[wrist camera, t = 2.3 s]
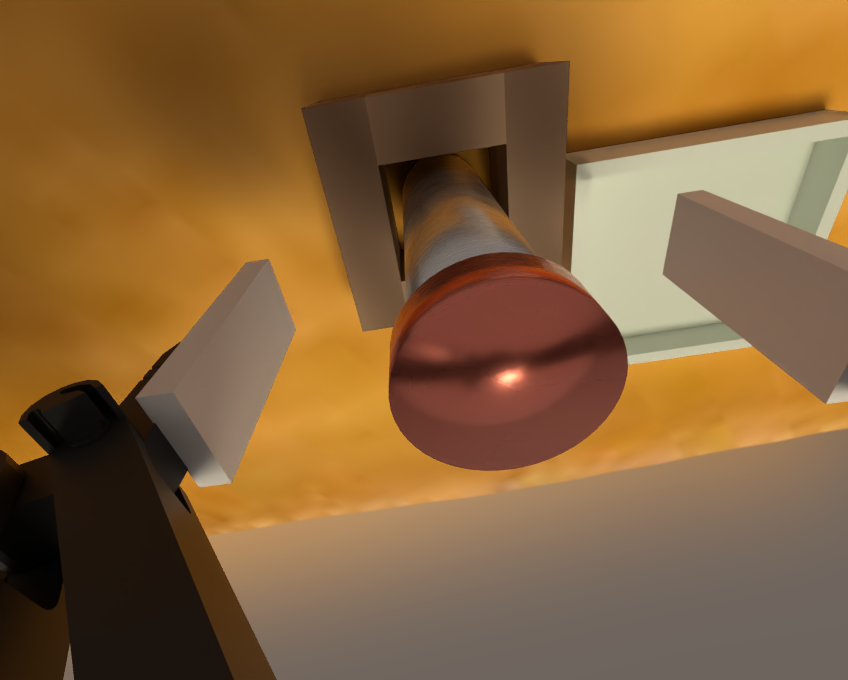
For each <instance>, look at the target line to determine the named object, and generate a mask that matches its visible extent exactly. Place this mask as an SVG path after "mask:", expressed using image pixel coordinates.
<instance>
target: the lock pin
mask: <svg viewBox="0 0 848 680" xmlns="http://www.w3.org/2000/svg"><path fill="white" fill-rule="evenodd" d="M403 224H404V257H405V290H406V303H405V304H404V306H403V307H402V309H401V311H400V313H399V315H398V317H397V319H396V321H395V324H394V327H393V330H392V335H391V341H390V364H389V402H390V408H391V412H392V415H393V417H394V420H395V422H396V424H397V426H398V427H399V429H400V431H401V432H402V433H403V435H404V436H405V437H406V438H407V440H409V441H410V442H411V443H412V444H413V445H414V446H415V447H416V448H418V449H419V450H420V451H422V452H423V453H425V454H426V455H428V456H430V457H432V458H434V459H436V460H438V461H441V462H443V463H446V464H449V465H452V466H456V467H460V468H465V469H471V470H483V471H494V470H508V469H515V468H520V467H525V466H529V465H533V464H536V463H540V462H542V461H545V460H548V459H551V458H553V457H555V456H557V455H559V454H561V453H563V452H565V451H567V450H569V449H570V448H572V447H574V446H576V445H577V444H578V443H580V442H581V441H583V440H584V439H586V438H587V437H588V436H589V435H590V434H591V433H593V432H594V431H595V430H596V429H597V428H598V427H599V426H600V425H601V424H602V423H603V422H604V421H605V420H606V418H607V417H608V416H609V414H610V413H611V412H612V410H613V409H614V407H615V405H616V404H617V402H618V400H619V398H620V396H621V393H622V391H623V389H624V385H625V381H626V377H627V369H628V357H627V349H626V346H625V342H624V339H623V337H622V335H621V333H620V331H619V329H618V327H617V326H616V324H615V323H614V322H613V320H612V319H611V318H610V317H609V315H608V314H607V313H606V312H605V311H604V309H603V308H602V307H601V306H600V305H599V304H598V302H597V301H596V300H595V299H594V298H593V297H592V295H591V294H590V293H589V292H588V291H587V289H586V288H585V287H584V286H583V285H582V284H581V282H580V281H579V280H578V279H577V278H576V277H575V276H573V275H572V274H571V273H570V272H569V271H567V270H566V269H564V268H563V267H561V266H560V265H558V264H556V263H554V262H552V261H550V260H547V259H545V258H541V257H538V256H536V254H535V253H534V252H533V250H532V249H531V247H530V246H529V245H528V243H527V242H526V241H525V239H524V238H523V237H522V235H521V234H520V232H519V231H518V230H517V228H516V227H515V226H514V224H513V223H512V222H511V220H510V219H509V218H508V216H507V215H506V213H505V212H504V211H503V209H502V208H501V207H500V205H499V204H498V203H497V201H496V200H495V198H494V197H493V196H492V194H491V193H490V192H489V190H488V189H487V188H486V186H485V185H484V184H483V182H482V181H481V179H480V178H479V177H478V175H477V174H476V173H475V171H474V170H473V169H472V167H471V166H470V165H469V164H468V163H467V162H466V161H465V160H463V159H462V158H460V157H458V156H455V155H452V154H444V155H438V156H432V157H426V158H423V159H422V160H420V161H419V162H418V163H416V164H415V165H414V166H413V168H412V169H411V170H410V172H409V173H408V175H407V177H406V179H405V182H404V186H403Z"/></svg>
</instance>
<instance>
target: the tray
mask: <svg viewBox="0 0 848 680" xmlns="http://www.w3.org/2000/svg"><path fill="white" fill-rule="evenodd" d="M698 190H705V191H707V192H710V193H712V194H715V195H717V196H720V197H722V198H724V199H727V200H729V201H732V202H734V203H737V204H739V205H742V206H744V207H747V208H749V209H752V210H754V211H757V212H759V213H762V214H764V215H767V216H769V217H772V218H774V219H777V220H779V221H782V222H784V223H787V224H789V225H792V226H794V227H797V228H799V229H802V230H804V231H807V232H809V233H811V234H814V235H816V236H819V237H821V238H824V239H826V240H827V238H828V236H829V233H830V231H831V228H832V226H833V224H834V221H835V219H836V216H837V214H838V211H839V209H840V207H841V204H842V202H843V199H844V197H845V195H846V192H847V190H848V112H846V111H835V110H821V111H815V112H809V113H804V114H798V115H792V116H786V117H780V118H774V119H768V120H762V121H756V122H750V123H744V124H738V125H732V126H726V127H721V128H715V129H709V130H703V131H697V132H691V133H685V134H679V135H673V136H667V137H661V138H655V139H649V140H643V141H638V142H632V143H626V144H620V145H614V146H608V147H602V148H596V149H590V150H584V151H578V152H572V153H566V167H565V191H564V215H563V240H562V264H561V267H563V268H564V269H566V270H567V271H569V272H570V273H571V274H572V275H573V276H575V277H576V278H577V279H578V280H579V281H580V282H581V284H582V285H583V286H584V287H585V288H586V289H587V291H588V292H589V293H590V294H591V295H592V297H593V298H594V299H595V300H596V301H597V302H598V304H599V305H600V306H601V307H602V308H603V309H604V311H605V312H606V313H607V314H608V315H609V317H610V318H611V319H612V320H613V322H614V323H615V324H616V326H617V327H618V329H619V331H620V333H621V335H622V337H623V339H624V342H625V346H626V349H627V357H628V365H630V364H637V363H644V362H651V361H658V360H664V359H671V358H678V357H685V356H692V355H698V354H705V353H712V352H719V351H726V350H732V349H739V348H746V347H753V346H752V345H751V344H750V343H748V342H747V341H746V340H744V339H743V338H742V337H741V336H739V335H738V334H737V333H736V332H734V331H733V330H732V329H731V328H729V327H728V326H727V325H726V324H724V323H723V322H722V321H721V320H719V319H718V318H717V317H715V316H714V315H713V314H712V313H710V312H709V311H708V310H707V309H705V308H704V307H703V306H702V305H700V304H699V303H698V302H697V301H695V300H694V299H693V298H692V297H690V296H689V295H688V294H686V293H685V292H684V291H683V290H681V289H680V288H679V287H678V286H676V285H675V284H674V283H673V282H671V281H670V280H669V279H668V278H666V277H665V276H664V275H663V268H664V263H665V258H666V252H667V247H668V242H669V237H670V231H671V226H672V221H673V215H674V210H675V205H676V200H677V194H679V193H685V192H692V191H698Z"/></svg>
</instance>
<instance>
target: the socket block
mask: <svg viewBox="0 0 848 680" xmlns="http://www.w3.org/2000/svg"><path fill="white" fill-rule="evenodd" d="M569 69H570V61H558V62H538V63H533V64H527V65H521V66H516V67H510V68H505V69H499V70H493V71H488V72H482V73H476V74H471V75H465V76H460V77H454V78H448V79H443V80H437V81H432V82H426V83H420V84H415V85H409V86H403V87H398V88H392V89H387V90H381V91H375V92H370V93H364V94H358V95H353V96H347V97H342V98H336V99H330V100H325V101H319V102H316V103H314V104H312V105H309V106H307V107H304V108H302V113H303V116H304V120H305V124H306V127H307V131H308V135H309V138H310V142H311V145H312V149H313V153H314V156H315V160H316V164H317V167H318V171H319V174H320V178H321V182H322V185H323V189H324V192H325V196H326V200H327V203H328V207H329V211H330V214H331V218H332V221H333V225H334V229H335V232H336V236H337V240H338V243H339V247H340V250H341V254H342V258H343V261H344V265H345V268H346V272H347V276H348V279H349V283H350V287H351V290H352V294H353V297H354V301H355V305H356V308H357V312H358V316H359V319H360V323H361V326H362V330H363V332H364V331H370V330H376V329H383V328H389V327H394V324H395V321H396V319H397V317H398V315H399V313H400V311H401V309H402V307H403V306H404V304H405V303H406V290H405V257H404V250H401V249H400V244H399V239H398V233H397V228H396V223H395V217H394V212H393V207H392V202H391V196H390V191H389V186H388V181H387V175H386V170H385V164H391V163H397V162H403V161H409V160H414V159H420V158H426V157H432V156H438V155H444V154H450V153H456V152H461V151H467V150H473V149H479V148H485V147H489V154H490V172H491V190H492V196H493V197H494V198H495V200H496V201H497V203H498V204H499V205H500V207H501V208H502V209H503V211H504V212H505V213H506V215H507V216H508V218H509V219H510V220H511V222H512V223H513V224H514V226H515V227H516V228H517V230H518V231H519V232H520V234H521V235H522V237H523V238H524V239H525V241H526V242H527V243H528V245H529V246H530V247H531V249H532V250H533V252H534V253H535V254H536V256H538V257H541V258H545V259H547V260H550V261H552V262H554V263H556V264H558V265H560V266H561V264H562V240H563V215H564V191H565V167H566V142H567V118H568V93H569Z"/></svg>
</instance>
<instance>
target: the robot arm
mask: <svg viewBox="0 0 848 680" xmlns="http://www.w3.org/2000/svg"><path fill="white" fill-rule="evenodd" d="M663 275H664V276H665V277H666V278H668V279H669V280H670V281H671V282H673V283H674V284H675V285H676V286H678V287H679V288H680V289H681V290H683V291H684V292H685V293H686V294H688V295H689V296H690V297H692V298H693V299H694V300H695V301H697V302H698V303H699V304H700V305H702V306H703V307H704V308H705V309H707V310H708V311H709V312H710V313H712V314H713V315H714V316H715V317H717V318H718V319H719V320H721V321H722V322H723V323H724V324H726V325H727V326H728V327H729V328H731V329H732V330H733V331H734V332H736V333H737V334H738V335H739V336H741V337H742V338H743V339H744V340H746V341H747V342H748V343H750V344H751V345H752V346H753V347H755V348H756V349H757V350H758V351H760V352H761V353H762V354H763V355H765V356H766V357H767V358H768V359H770V360H771V361H772V362H773V363H775V364H776V365H777V366H779V367H780V368H781V369H782V370H784V371H785V372H786V373H787V374H789V375H790V376H791V377H792V378H794V379H795V380H796V381H797V382H799V383H800V384H801V385H802V386H804V387H805V388H806V389H808V390H809V391H810V392H811V393H813V394H814V395H815V396H816V397H818V398H819V399H820V400H821V401H823V402H824V403H825V404H830V403H838V402H845V401H848V248H846V247H844V246H841V245H839V244H836V243H834V242H831V241H829V240H826V239H824V238H821V237H819V236H816V235H814V234H811V233H809V232H807V231H804V230H802V229H799V228H797V227H794V226H792V225H789V224H787V223H784V222H782V221H779V220H777V219H774V218H772V217H769V216H767V215H764V214H762V213H759V212H757V211H754V210H752V209H749V208H747V207H744V206H742V205H739V204H737V203H734V202H732V201H729V200H727V199H724V198H722V197H720V196H717V195H715V194H712V193H710V192H707V191H705V190H698V191H692V192H685V193H679V194H677V200H676V205H675V210H674V215H673V221H672V226H671V231H670V237H669V242H668V247H667V252H666V258H665V263H664V268H663ZM295 330H296V329H295V326H294V324H293V321H292V318H291V316H290V313H289V310H288V308H287V305H286V303H285V300H284V297H283V295H282V292H281V290H280V287H279V284H278V282H277V279H276V277H275V274H274V271H273V269H272V266H271V263H270V261H269V259H265V260H259V261H253V262H247V263H245V265H244V266H243V267H242V268H241V269H240V271H239V272H238V273H237V274H236V276H235V277H234V278H233V279H232V280H231V282H230V283H229V284H228V285H227V287H226V288H225V289H224V290H223V291H222V293H221V294H220V295H219V296H218V297H217V299H216V300H215V301H214V302H213V304H212V305H211V306H210V307H209V308H208V310H207V311H206V312H205V313H204V315H203V316H202V317H201V318H200V319H199V321H198V322H197V323H196V324H195V326H194V327H193V328H192V329H191V330H190V332H189V333H188V334H187V335H186V336H185V338H184V339H183V340H182V341H181V342H179V343H178V344H176V345H175V346H174V347H172V348H171V349H169V350H168V351H167V352H165V353H164V354H163V355H162V356H161V357H160V358H159V359H158V361H157V362H156V363H155V364H154V365H153V366H152V370H149V371H148V372H147V373H146V375H145V376H144V377H143V380H141V381H140V382H139V383H138V384H137V385H136V386H135V388H134V389H133V390H132V391H131V392H130V394H129V395H128V396H127V397H126V398H125V399H124V401H123V402H122V403H121V404H120V405H118V404H117V403H116V401H115V400H114V399H113V398H112V396H111V395H110V394H109V392H108V391H107V390H106V388H105V387H104V386H103V384H101V383H100V382H99V381H97V380H86V381H81V382H76V383H73V384H70V385H68V386H65V387H62V388H60V389H58V390H56V391H54V392H52V393H50V394H48V395H46V396H44V397H43V398H41V399H40V400H39V401H37V402H36V403H34V404H33V405H31V406H30V407H29V408H28V409H27V410H26V411H25V412H24V414H23V415H22V416H21V418H20V421H19V424H20V426H21V427H22V428H23V429H24V430H25V431H26V432H27V433H28V434H29V435H30V436H31V437H32V438H33V439H34V440H35V441H36V442H37V443H38V444H39V445H40V446H41V447H42V448H43V449H44V450H45V451H46V452H47V453H48V454H49V455H47V456H44V457H41V458H38V459H35V460H32V461H29V462H26V463H23V464H21V465H18V464H17V463H16V462H15V461H14V460H13V459H12V458H11V457H10V456H9V455H7V454H6V453H5V452H3V451H2V450H0V680H63V677H64V672H65V666H66V661H67V655H68V650H69V644H70V646H71V655H72V664H73V673H74V680H276V677H275V676H274V673H273V672H272V669H271V667H270V665H269V663H268V661H267V659H266V657H265V655H264V653H263V651H262V649H261V647H260V645H259V643H258V641H257V639H256V637H255V634H254V632H253V630H252V628H251V626H250V624H249V622H248V620H247V618H246V616H245V614H244V612H243V610H242V608H241V606H240V604H239V602H238V600H237V597H236V595H235V593H234V592H233V589H232V587H231V585H230V583H229V581H228V579H227V577H226V575H225V573H224V571H223V569H222V567H221V565H220V563H219V561H218V559H217V556H216V555H215V552H214V551H213V548H212V546H211V544H210V542H209V540H208V538H207V536H206V534H205V532H204V530H203V528H202V526H201V524H200V522H199V520H198V517H197V515H196V513H195V511H194V509H193V507H192V505H191V503H190V501H189V499H188V497H187V495H186V494H185V492H184V491H183V490H182V488H181V487H180V486H179V485H180V483H181V481H182V479H183V478H184V476H185V474H186V472H187V471H188V472H189V474H190V475H191V476H192V478H193V479H194V481H195V482H196V483H197V485H198V486H199V487H206V486H213V485H221V484H228V483H232V481H233V479H234V476H235V474H236V471H237V469H238V467H239V464H240V462H241V459H242V457H243V455H244V452H245V450H246V447H247V445H248V443H249V440H250V438H251V435H252V433H253V431H254V428H255V426H256V423H257V421H258V419H259V416H260V414H261V412H262V409H263V407H264V404H265V402H266V400H267V397H268V395H269V392H270V390H271V388H272V385H273V383H274V380H275V378H276V376H277V373H278V371H279V368H280V366H281V364H282V361H283V359H284V356H285V354H286V352H287V349H288V347H289V344H290V342H291V340H292V337H293V335H294V333H295Z"/></svg>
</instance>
